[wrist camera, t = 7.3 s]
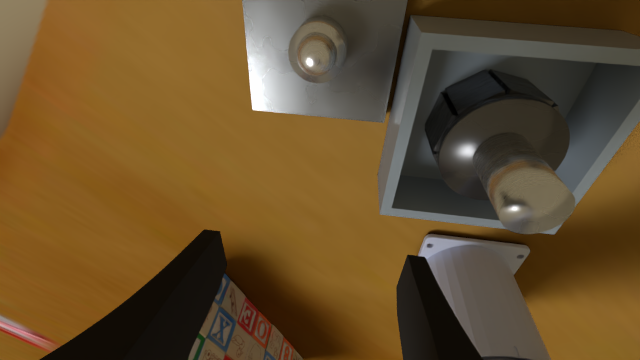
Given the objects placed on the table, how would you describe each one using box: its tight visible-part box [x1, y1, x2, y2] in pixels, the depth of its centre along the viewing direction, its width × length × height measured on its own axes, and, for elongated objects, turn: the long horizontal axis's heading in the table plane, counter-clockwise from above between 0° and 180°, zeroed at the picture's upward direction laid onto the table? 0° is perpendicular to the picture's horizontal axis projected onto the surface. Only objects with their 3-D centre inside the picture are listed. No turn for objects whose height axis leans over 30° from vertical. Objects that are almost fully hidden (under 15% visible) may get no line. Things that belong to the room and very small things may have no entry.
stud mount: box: [242, 0, 408, 123], centre depth 16 cm, size 8×8×4 cm
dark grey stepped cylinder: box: [424, 69, 576, 234], centre depth 15 cm, size 6×6×8 cm
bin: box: [378, 15, 640, 235], centre depth 17 cm, size 10×10×4 cm
